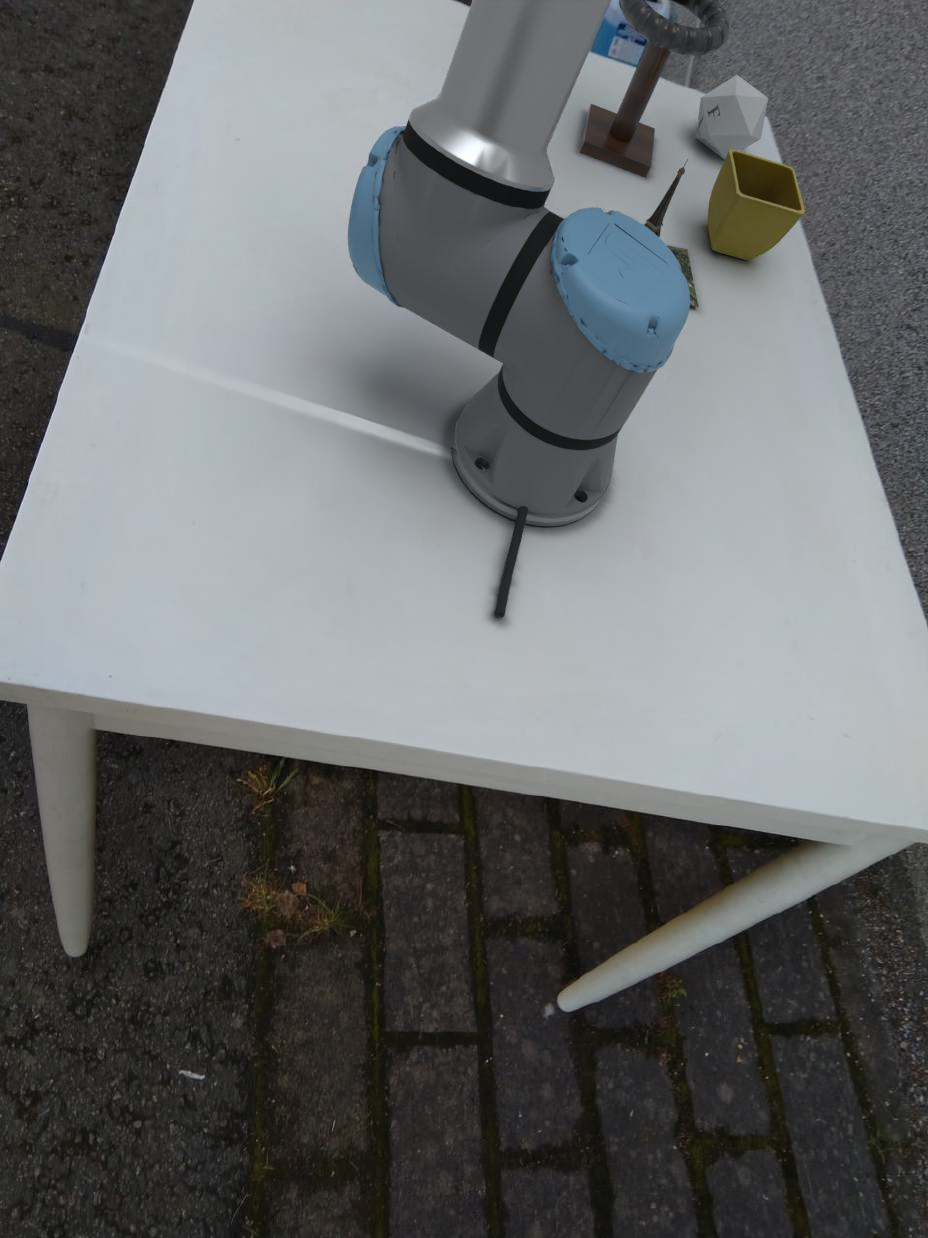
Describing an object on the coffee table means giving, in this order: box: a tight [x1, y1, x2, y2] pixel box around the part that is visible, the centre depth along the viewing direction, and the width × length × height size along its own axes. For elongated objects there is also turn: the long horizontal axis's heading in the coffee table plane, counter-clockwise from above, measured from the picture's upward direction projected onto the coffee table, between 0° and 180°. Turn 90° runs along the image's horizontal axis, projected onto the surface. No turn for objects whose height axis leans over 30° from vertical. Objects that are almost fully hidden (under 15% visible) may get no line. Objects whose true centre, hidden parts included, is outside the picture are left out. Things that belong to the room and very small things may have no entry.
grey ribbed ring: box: [618, 0, 730, 57], centre depth 102 cm, size 13×13×3 cm
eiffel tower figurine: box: [643, 158, 699, 308], centre depth 98 cm, size 15×10×13 cm
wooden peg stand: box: [579, 40, 672, 178], centre depth 110 cm, size 9×9×14 cm
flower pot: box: [707, 149, 805, 261], centre depth 108 cm, size 9×9×9 cm
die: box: [695, 74, 769, 161], centre depth 119 cm, size 8×9×10 cm
